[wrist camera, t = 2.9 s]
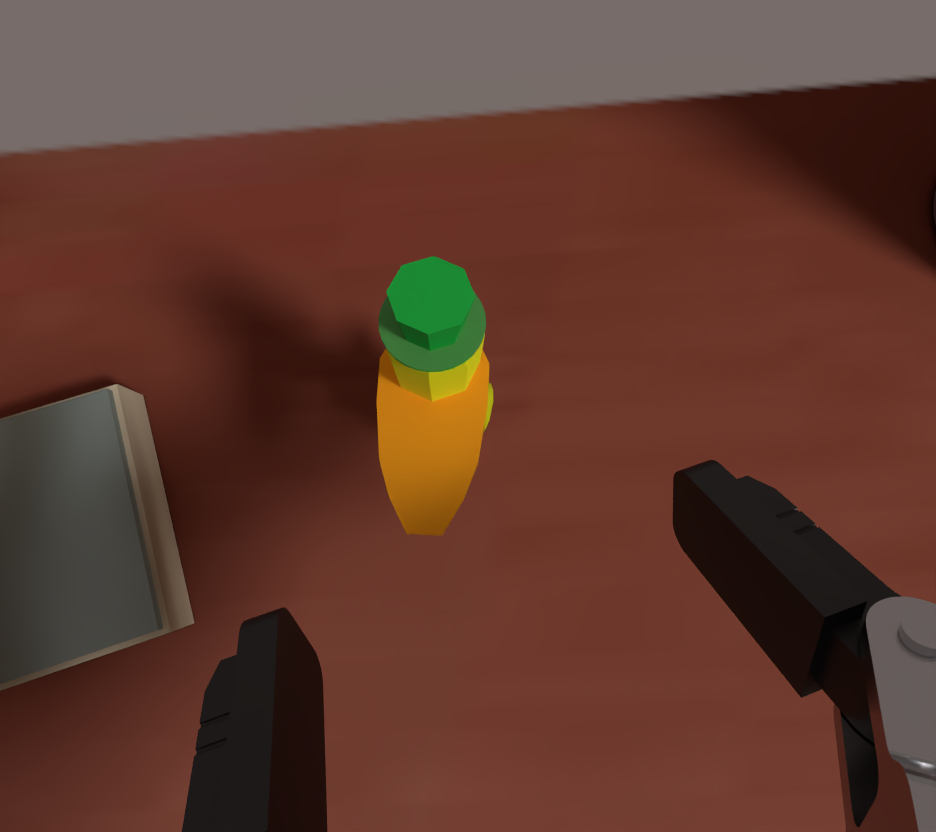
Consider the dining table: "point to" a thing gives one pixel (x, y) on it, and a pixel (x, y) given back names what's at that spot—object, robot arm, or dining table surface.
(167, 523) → the stand
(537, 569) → the dining table surface
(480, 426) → the toy figure
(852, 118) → the dining table surface
